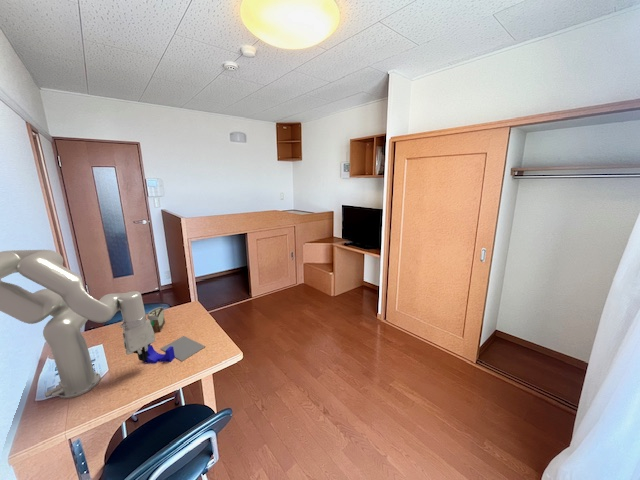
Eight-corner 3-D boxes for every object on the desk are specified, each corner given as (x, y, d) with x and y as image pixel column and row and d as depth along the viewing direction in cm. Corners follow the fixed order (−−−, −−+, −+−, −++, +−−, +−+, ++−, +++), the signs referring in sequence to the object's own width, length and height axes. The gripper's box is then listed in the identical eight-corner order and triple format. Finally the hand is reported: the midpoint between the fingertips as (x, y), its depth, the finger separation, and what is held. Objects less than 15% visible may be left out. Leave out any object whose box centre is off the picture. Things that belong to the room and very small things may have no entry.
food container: (153, 323, 148) (150, 307, 146) (165, 321, 150) (163, 306, 148) (146, 335, 137) (143, 318, 135) (159, 333, 139) (156, 316, 136)
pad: (181, 361, 116) (181, 360, 116) (160, 349, 125) (160, 348, 125) (205, 346, 126) (205, 346, 126) (184, 336, 135) (183, 335, 135)
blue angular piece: (143, 362, 116) (141, 351, 115) (151, 356, 121) (149, 345, 119) (168, 364, 115) (166, 353, 113) (175, 357, 119) (173, 346, 118)
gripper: (118, 333, 98) (128, 374, 102) (159, 315, 111) (166, 352, 115) (109, 327, 102) (119, 367, 106) (150, 311, 114) (157, 347, 119)
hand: (143, 359), depth 111 cm, fingers closed
